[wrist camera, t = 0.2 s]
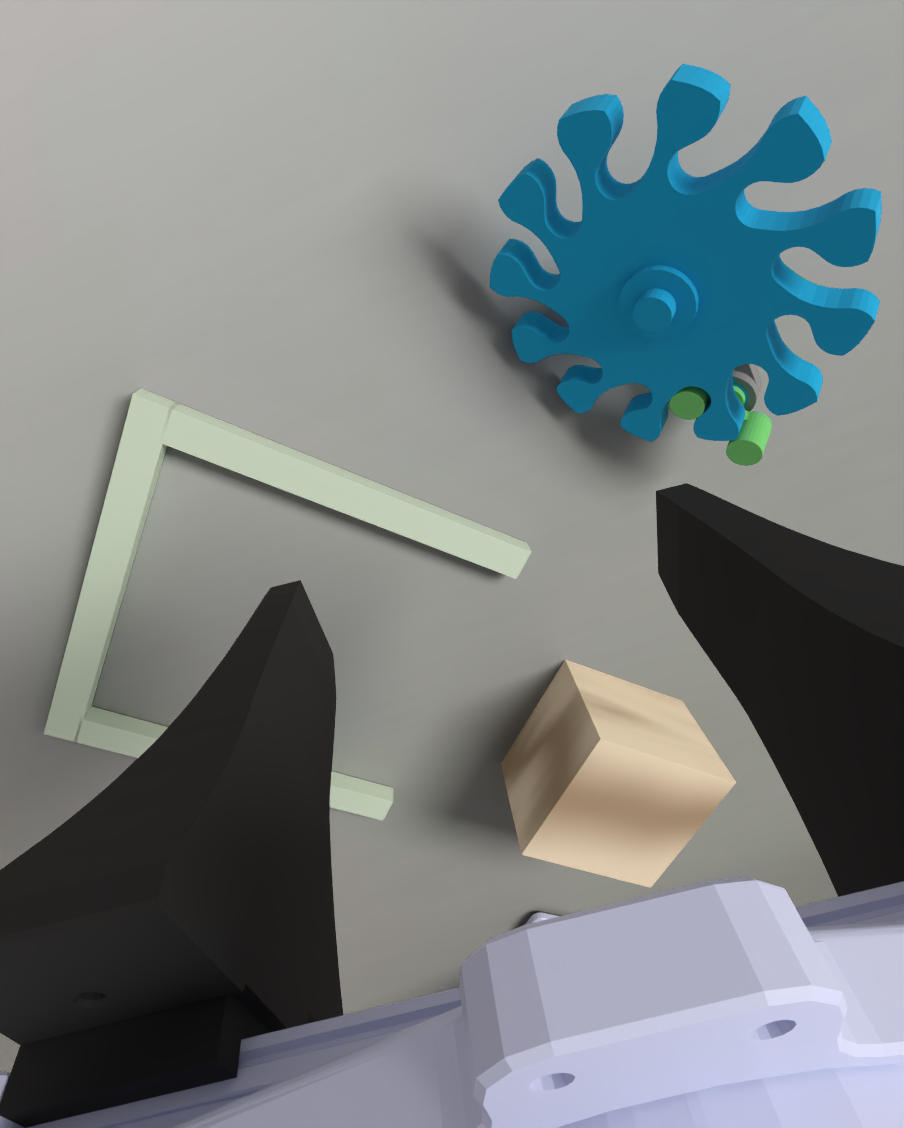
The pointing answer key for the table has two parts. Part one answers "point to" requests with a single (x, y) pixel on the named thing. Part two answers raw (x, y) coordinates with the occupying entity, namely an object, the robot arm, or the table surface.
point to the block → (610, 777)
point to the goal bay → (265, 461)
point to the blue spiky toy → (686, 269)
